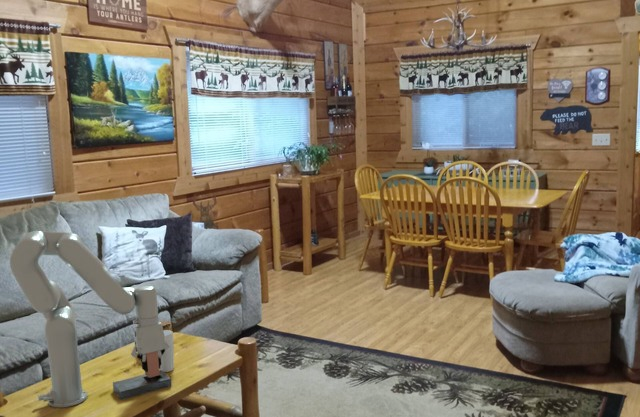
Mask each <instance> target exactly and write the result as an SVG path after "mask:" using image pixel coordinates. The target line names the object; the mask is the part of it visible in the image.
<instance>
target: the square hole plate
mask: <svg viewBox="0 0 640 417" xmlns="http://www.w3.org/2000/svg"><path fill="white" fill-rule="evenodd" d="M159 372H160V375H158V376H154V377H150V378H148V377H147V376H146V375H145V373H144V374H142V375H137V376H133V377H129V378H125V379H121V380H118V381H113V382H112V389H113V392H114V393H115V394H116V395H117V397H118V398H119V399H120V400H121V401H122V400H127V399H130V398H134V397H138V396H141V395H144V394H147V393H148V394H149V393H152V392H155V391H159V390H162V389H166V388H170V387H172V379H171V377H170V376H169V375H167V373H166V372H163V371H162V370H160V369H159Z"/></svg>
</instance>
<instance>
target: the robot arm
mask: <svg viewBox="0 0 640 417" xmlns="http://www.w3.org/2000/svg"><path fill="white" fill-rule="evenodd" d="M42 256H57V257H59V258H60V259H61V261H62V262H64V263H65V265H67V266H68V267H69V268H71V270H72V271H73V272H75V273H76V274H77V275H78V277H80V278H81V279H82V280H83V281H84V282H85V283H86V284H87V285H88V287H89V288H90V289H91V290H92V291H93V292H94V293H95V294H96V295H97V296H98V297H99V298H100V299H101V301H103V302H104V303H105V304H106V305H107V306H108V307H110V309H111V310H112V311H113V312H115V313H117V314H119V315H121V316H123V315H129V314H130V313H132V312H133V310H134V309H135V314H136V316H135V319H134V320H132V324H133V325H135V329H134V347H133V349H132V351H131V353H130V356H131V357H133V358H136V359H138V360H139V361H141V369H142V371H144V372H148V367H147V361H146V354H148V353H152V352H156V351H158V361H159V370H160V365H161V357H162V355H163V353H164V352H165V351H166V350H167V349H168V348H169V345H168V344H167V343H166V341H165V337H164V331H163V330H164V329H163V327H162V326H163V324H162V322H161V321H159V320H160V319H159V318H160V317H159V308H158V298H157V297H158V296H157V295H158V294H157V289H156V287H155V286H153V285H142V286H138V287H132V286H131V287H129V286H128V287H127V286H125V287H124V286H123V287H122V286H121V285H120V284H119V283H118V281H117V280H116V279H115V278H114V277H113V276H112V274H111V273H110V271H109V269H108V267H107V265H105V263H104V262H103V261H102V260H101V259H100V258H98V256H96V254H94V253H93V252H92V251H91V249H89V248H88V247H87V246H86V245H85V244H84V243H83V240H82V238H81V237H80V236H79V235H78V234H76V233H72V232H62V231H61V232H60V231H45V230H33V231H32V230H31V231H30V232H27V233H26V234H24V235H23V236H22V238H21V239H20V240H19V241H18V242H17V244H16V245H15V247H14V249H13V250H12V252H11V254H10V258H9V265H10V266H9V267H10V269H11V273H12V275H13V277H14V278H15V280H16V281H17V283H18V285H19V286H20V289H21V291H22V292H23V294H24V296H26V298H27V300H28V302H29V304H30V306H31V308H32V309H33V310H34V311H36V312H37V313H39V314H42V315H43V317H44V318H45V320H46V322H45V327H44V336H45V340H46V346H47V355H48V362H49V372H50V380H51V382H50V383H51V388H50V389H49V390H50V391H47V393H44V394H43V393H42V394H39V395H37V399H38V402H41V401H43V402H48V405H49V406H51V407H53V408H56V409H57V408H58V409H59V408H60V409H61V408H69V407H73V406H76V405H79V404H81V403H83V402H84V401H85V400H87V398H88V392H87V391H86V390H84V389H83V386H82V385H83V384H82V377H81V376H82V375H81V366H80V364H81V363H80V357H79V356H80V355H79V348H78V347H79V346H78V339H77V329H76V328H77V313H76V312H75V310H74V308H73V306H72V304H71V303H70V301H69V300H68V297H67V296H66V294H65V293H64V291H63V290H62V288H61V287H60V285H59V284H58V283H57V282H55V281H53V280H50V279H48V277H47V276H46V273H45V271H44V270H43V269H42V267H41V266H40V264H39V260H40V259H41V257H42Z"/></svg>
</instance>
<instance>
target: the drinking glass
mask: <svg viewBox="0 0 640 417" xmlns="http://www.w3.org/2000/svg"><path fill="white" fill-rule="evenodd" d="M163 331H164V337H165V341H166V343H167V344H168V345H169V348H168V349H167V350H166V351H165V352H164V353H163V355H162V357H161V365H160V369H159V371H160V370H162V371H163V372H164V373H169V372H172V371H173V370H174V369H175V366H174V364H175V363H174V360H175V359H174V350H175V347H174V344H175V343H174V341H175V340H174V332H173V331H172V330H171V329H163Z"/></svg>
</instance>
